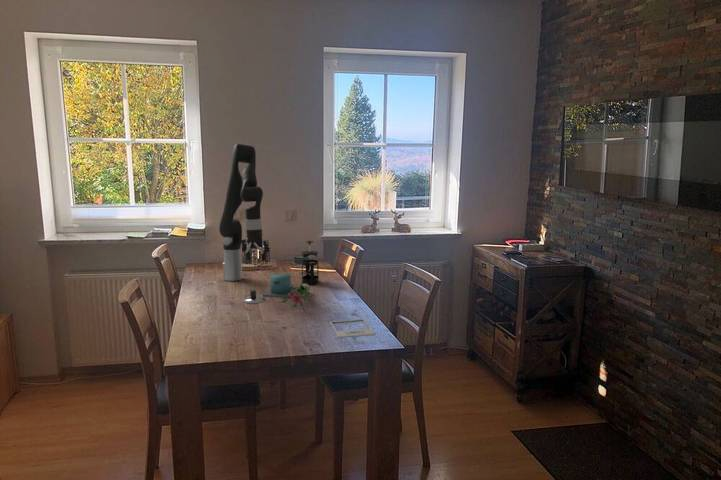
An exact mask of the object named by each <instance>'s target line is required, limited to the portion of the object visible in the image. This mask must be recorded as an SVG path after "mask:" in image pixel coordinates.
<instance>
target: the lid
mask: <svg viewBox="0 0 721 480" xmlns="http://www.w3.org/2000/svg"><path fill="white" fill-rule="evenodd" d="M249 291H250V295H249V296H244V297H242V298H241V302H242V303H244V304H248V305H249V304H253V305H254V304H260V303H263V302H265V301H266V296H263V295H257V290H255V289H251V290H249Z"/></svg>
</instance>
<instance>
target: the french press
mask: <svg viewBox="0 0 721 480" xmlns="http://www.w3.org/2000/svg"><path fill="white" fill-rule="evenodd" d="M305 243H307V244H308V247H309V250H303V251H301V252H300V253H301V255H302V258H308V257H310V256H315V257H316V258H317V257H318V254H319V251H316V250H311V243H314V241H313V240H306V241H305ZM304 266H305V270H304V268H303V267H304ZM314 266H316V269H315V267H314ZM319 273H320V272H319V260H317V259H310V258H309V259H305V260H301V284H308V285H309V286H315V285H316V286H317V285H318V284H320V281H319V279H320V278H319Z"/></svg>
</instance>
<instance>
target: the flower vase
mask: <svg viewBox="0 0 721 480" xmlns="http://www.w3.org/2000/svg"><path fill="white" fill-rule="evenodd" d="M290 290H294V291H296V293H294V292H293V291H291V292H289V294H288V295H289V296H290V299H291V301H292V302H293V305H292V308H293V309H294V308H296V307H297V306H298V305H299V306H300V307H303V306H304V303H303V302H305V304H306V303H307V298H308V299H313V297H312V295H310V294H311V291H310V290H311V288H310V285H308V284H302V283H300V285H298V286H295V287H293V285H292V284H291V287H290ZM288 295H287V296H285V297H284V299H282V301H281V303H282V304H283V303H284V304H285V303H287V302H288V299H289V298H288ZM305 296H306V297H305Z"/></svg>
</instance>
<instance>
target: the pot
mask: <svg viewBox="0 0 721 480" xmlns="http://www.w3.org/2000/svg"><path fill="white" fill-rule="evenodd" d="M269 281H270V284H269V285H270V288H269V289H268V290H266V291H265V292H264V293H262V296H263V297H269V298H270V297H271V298H285V296H287V295H288V294H289V292H291V291H293V292H294V293H297V292H296V291H294V290H290V287H291V285H292V284H291V282H292V281H291V274H288V273H275V274H271V275H270V277H269ZM289 298H290V299H291V297H290V296H289V295H288V298H287V299H289Z"/></svg>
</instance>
